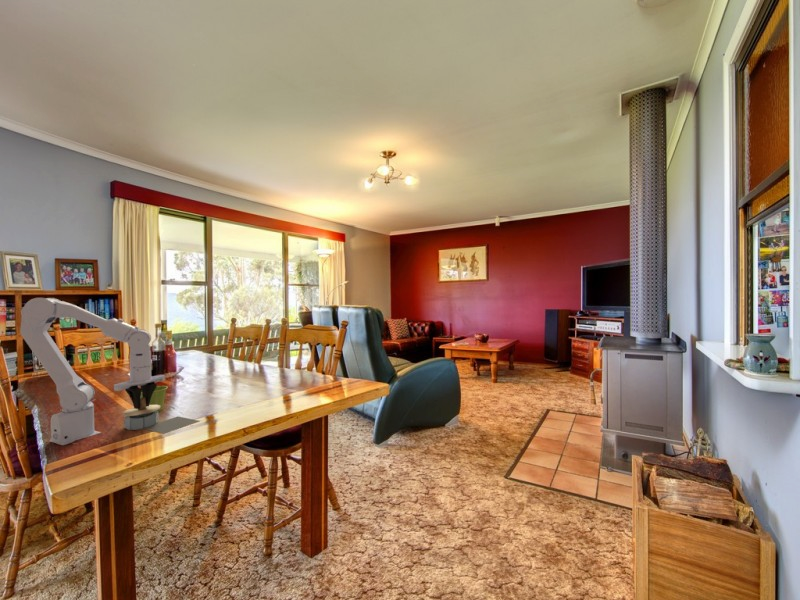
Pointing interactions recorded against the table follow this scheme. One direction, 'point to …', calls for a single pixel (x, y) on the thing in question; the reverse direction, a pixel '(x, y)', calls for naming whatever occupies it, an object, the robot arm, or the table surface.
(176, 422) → the mat
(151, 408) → the lid
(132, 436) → the table surface
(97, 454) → the table surface
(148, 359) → the robot arm
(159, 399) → the plant pot
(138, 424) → the bowl
